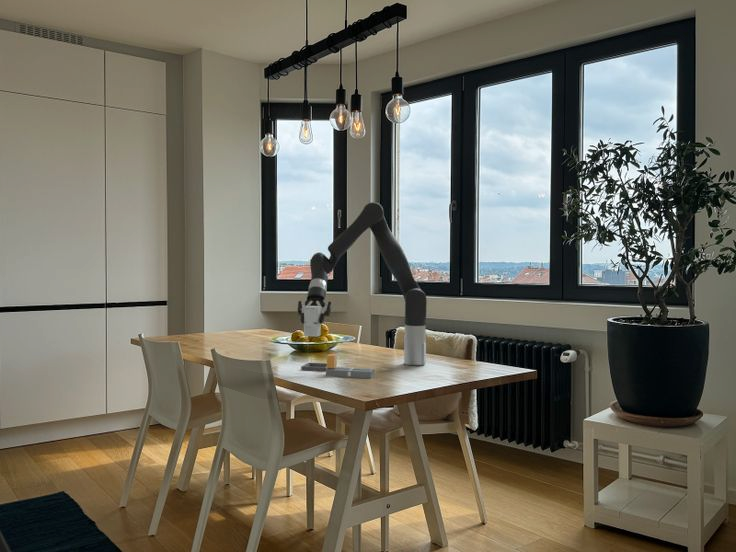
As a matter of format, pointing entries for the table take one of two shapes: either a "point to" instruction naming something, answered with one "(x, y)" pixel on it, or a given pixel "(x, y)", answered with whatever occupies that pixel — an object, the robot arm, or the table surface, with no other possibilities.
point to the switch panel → (350, 372)
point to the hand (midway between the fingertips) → (311, 322)
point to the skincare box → (312, 321)
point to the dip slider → (332, 361)
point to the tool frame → (315, 367)
